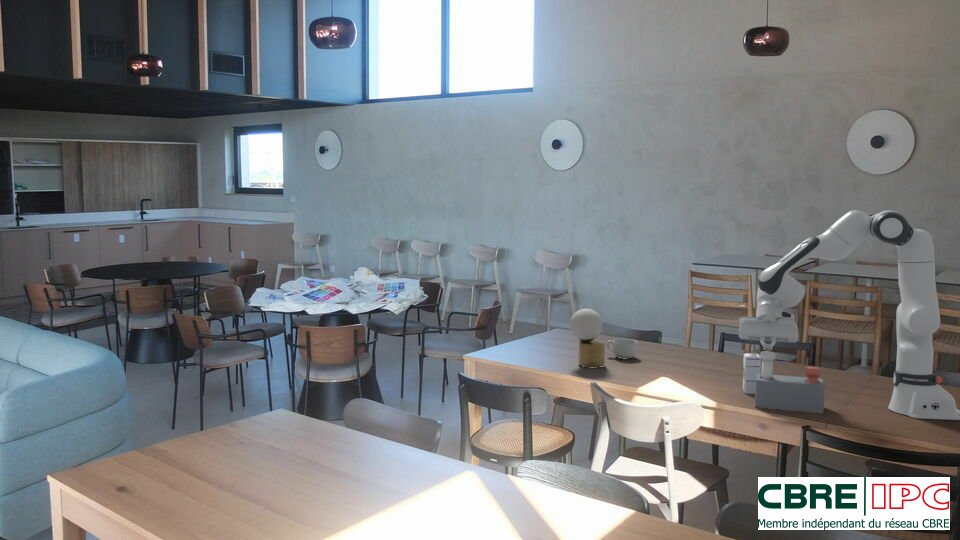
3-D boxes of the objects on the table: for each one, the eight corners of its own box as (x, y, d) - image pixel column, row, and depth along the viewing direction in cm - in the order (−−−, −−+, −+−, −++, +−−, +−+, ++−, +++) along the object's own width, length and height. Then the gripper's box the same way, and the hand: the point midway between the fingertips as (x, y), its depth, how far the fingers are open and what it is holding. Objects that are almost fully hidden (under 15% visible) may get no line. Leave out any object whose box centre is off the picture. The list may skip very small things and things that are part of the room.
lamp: (566, 367, 329) (567, 310, 326) (572, 360, 342) (573, 305, 339) (601, 370, 325) (603, 312, 322) (606, 362, 338) (607, 307, 335)
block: (820, 405, 272) (822, 378, 271) (823, 413, 263) (824, 385, 262) (754, 400, 279) (756, 373, 278) (755, 407, 270) (756, 380, 269)
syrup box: (760, 394, 287) (761, 356, 285) (743, 393, 288) (745, 356, 286) (757, 390, 292) (759, 353, 291) (741, 389, 294) (743, 352, 292)
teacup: (640, 357, 349) (640, 340, 348) (631, 361, 340) (631, 344, 339) (611, 353, 356) (612, 336, 356) (602, 357, 347) (602, 340, 346)
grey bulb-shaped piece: (773, 390, 275) (775, 352, 273) (774, 393, 270) (775, 355, 268) (758, 388, 276) (760, 351, 275) (758, 392, 271) (760, 354, 270)
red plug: (818, 405, 270) (820, 367, 269) (819, 410, 265) (821, 370, 264) (802, 404, 272) (804, 366, 270) (803, 408, 267) (805, 369, 265)
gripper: (739, 311, 280) (737, 342, 272) (798, 314, 274) (799, 346, 266) (738, 321, 285) (737, 351, 277) (797, 324, 278) (797, 356, 270)
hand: (767, 349), depth 271 cm, fingers closed
